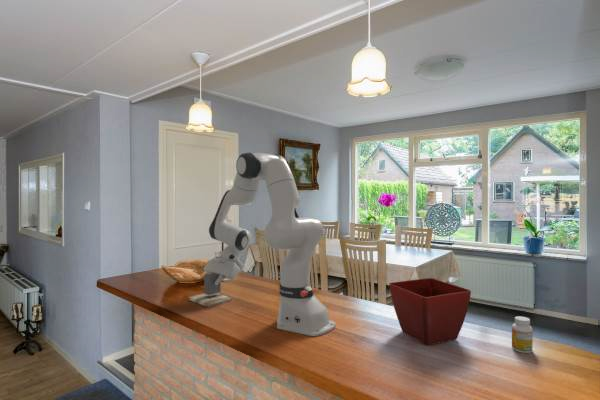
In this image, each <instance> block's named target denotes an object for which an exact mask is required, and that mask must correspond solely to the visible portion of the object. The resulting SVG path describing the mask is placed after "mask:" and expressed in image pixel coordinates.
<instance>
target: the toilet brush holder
mask: <svg viewBox="0 0 600 400" xmlns="http://www.w3.org/2000/svg"><path fill="white" fill-rule="evenodd" d="M224 244H225V243H223V242H221V250H217V251H214V255H215V257H219V255H220V254H221V252H222V251H223V250H224V248H225V247H224ZM215 257H214V258H215ZM229 280H230V279H226V278H224V279H223V280H222V281H221V282H224V281H225V282H226V281H229Z"/></svg>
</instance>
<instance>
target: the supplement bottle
mask: <svg viewBox="0 0 600 400" xmlns="http://www.w3.org/2000/svg"><path fill="white" fill-rule="evenodd" d="M530 324H531V319H530V318H529V317H526V316H520V315H519V316H515V317H514V322H513V323H512V325H511V349H512V350H514V351H515V352H517V353H518V352H519V353H520V354H521V353H523V354H531V353H532V352H533V338H534V337H533V327H532V326H531V325H530Z"/></svg>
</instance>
